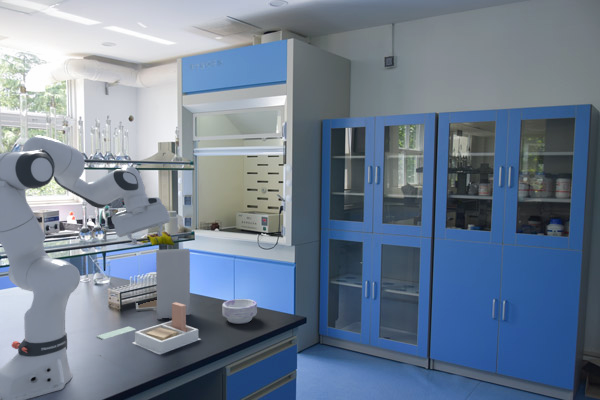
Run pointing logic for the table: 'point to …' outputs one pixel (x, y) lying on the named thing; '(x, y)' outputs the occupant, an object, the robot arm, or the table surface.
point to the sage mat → (115, 332)
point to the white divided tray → (169, 343)
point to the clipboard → (147, 306)
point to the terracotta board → (179, 316)
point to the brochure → (172, 280)
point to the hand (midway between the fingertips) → (147, 239)
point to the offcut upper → (161, 334)
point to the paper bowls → (239, 310)
